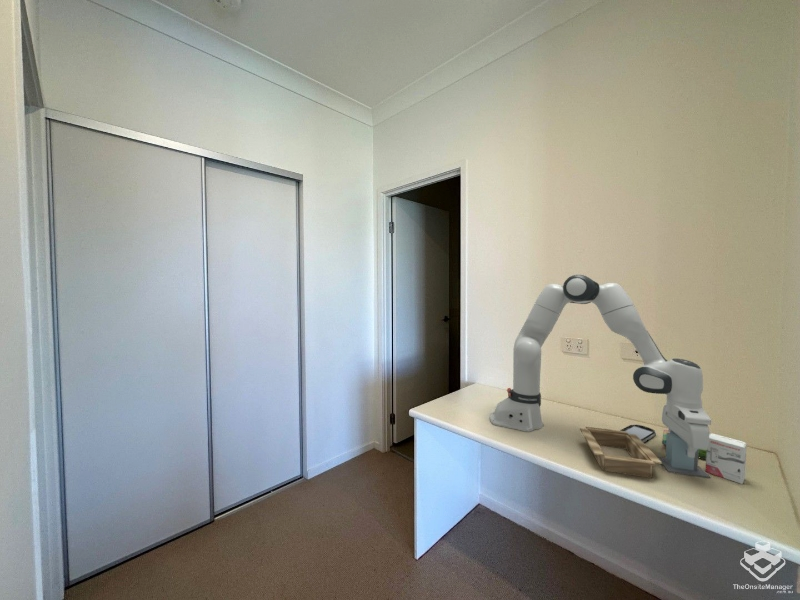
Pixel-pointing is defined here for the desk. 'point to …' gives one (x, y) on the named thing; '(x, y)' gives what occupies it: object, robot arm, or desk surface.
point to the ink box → (726, 458)
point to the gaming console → (640, 432)
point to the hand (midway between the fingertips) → (681, 449)
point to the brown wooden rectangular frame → (620, 439)
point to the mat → (683, 470)
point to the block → (679, 453)
